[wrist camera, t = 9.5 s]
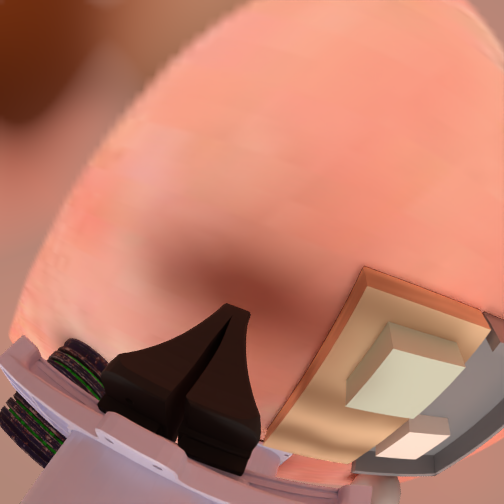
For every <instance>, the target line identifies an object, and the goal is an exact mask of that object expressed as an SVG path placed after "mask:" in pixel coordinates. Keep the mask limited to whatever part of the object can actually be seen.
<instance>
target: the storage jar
mask: <svg viewBox="0 0 504 504" xmlns="http://www.w3.org/2000/svg"><path fill="white" fill-rule="evenodd" d="M47 362H48V363H49V364H50V365H52V366H53V367H54V368H55V369H57V370H58V371H59V372H60V373H62V374H63V375H64V376H65V377H67V378H68V379H69V380H71V381H72V382H73V383H75V384H76V385H77V386H79V387H80V388H82V389H83V390H84V391H86V392H87V393H89V394H90V395H92V396H93V397H95V398H96V399H98V400H99V401H100V399H101V398H102V397H103V396H104V394H105V390H104V387H103V384H102V381H101V373H102V371H103V370H104V369H105V368H106V366H107V365H108V364H109V363H108V362H107V361H106V360H105V359H104V358H103V357H101V356H100V355H99V354H98V353H97V352H96V351H95V350H93V349H92V348H91V347H89V346H88V345H86V344H85V343H83V342H81V341H79V340H77V339H73V338H72V339H68V340H67V341H66V342H65V344H64V346H63V347H60V348H59V349H58V350H57V351H55V352H54V353H53V354H52V355H51V356H50V357H49V359H48V360H47ZM14 398H15V399H16V401H15V400H14V399H13V398H10V399H9V400H8V401H7V402H6V404H7V405H8V406H9V408H10V409H9V410H8V409H7V408H6V407H5V406H4V407H3V408H2V409H1V412H0V426H1V428H2V429H3V430H4V431H5V432H6V433H7V434H8V435H9V436H10V438H11V439H12V440H13V441H14V442H15V443H16V444H17V445H18V446H19V447H20V448H21V449H23V451H24V452H26V453H27V454H28V455H29V456H30V457H31V458H32V459H33V460H35V461H36V462H37V463H38V464H39V465H40V466H42V467H43V468H44V469H45V467H46V466H47V464H48V463H49V462H50V460H51V459H52V458H53V456H54V455H55V454H56V452H57V451H58V450H59V448H60V447H61V446H62V444H63V443H64V442H65V440H66V439H67V438H66V437H65V436H64V435H62V434H61V433H60V432H59V431H58V430H57V429H56V428H54V427H53V426H52V425H51V424H50V423H49V422H48V421H47V420H46V419H45V418H44V417H42V416H41V415H40V414H39V413H38V412H37V411H36V410H35V409H34V408H33V407H32V406H31V405H30V404H29V403H28V402H27V401H26V400H25V399H24V398H23V397H22V396H21V395H20V394H19V393H18V391H16V393H15V394H14Z"/></svg>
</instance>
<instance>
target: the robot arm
mask: <svg viewBox="0 0 504 504" xmlns="http://www.w3.org/2000/svg"><path fill="white" fill-rule="evenodd" d="M250 315H251V314H250V312H249V311H246V310H243V309H241V308H238V307H235V306H233V305H230V304H227V303H226V304H224V305H223V306H222V307H221V308H219V309H218V310H217V311H216V312H215V313H213V314H212V315H211V316H210V317H208V318H207V319H205V320H204V321H203V322H201V323H200V324H198V325H197V326H195V327H193V328H192V329H190V330H189V331H187V332H185V333H183V334H181V335H179V336H177V337H175V338H173V339H171V340H169V341H166V342H164V343H161V344H159V345H156V346H152V347H149V348H146V349H142V350H138V351H134V352H128V353H122V354H119V355H118V356H116V357H115V358H114V359H113V360H112V361H111V362H110V363H109V364H108V365H107V366H106V368H105V369H104V370H103V371H102V373H101V381H102V384H103V387H104V390H105V394H104V396H103V397H102V398H101V399H100V401H99V400H98V399H96V398H95V397H93V396H92V395H90V394H89V393H87V392H86V391H84V390H83V389H82V388H80V387H79V386H77V385H76V384H75V383H73V382H72V381H71V380H69V379H68V378H67V377H65V376H64V375H63V374H62V373H60V372H59V371H58V370H57V369H55V368H54V367H53V366H52V365H50V364H49V363H48V362H47V361H46V360H44V359H43V358H42V357H41V354H40V352H39V350H38V348H37V347H36V346H35V345H34V344H33V343H32V342H31V341H30V340H29V339H28V338H27V337H26V336H25V335H23V336H22V337H21V338H19V339H18V340H17V341H16V342H15V343H14V344H13V345H12V346H11V347H10V348H8V349H7V350H6V351H5V352H4V353H3V354H2V355H1V356H0V367H1V369H2V371H3V372H4V374H5V375H6V377H7V378H8V380H9V381H10V383H11V384H12V386H13V387H14V388H15V389H16V390H17V391H18V393H19V394H20V395H21V396H22V397H23V398H24V399H25V400H26V401H27V402H28V403H29V404H30V405H31V406H32V407H33V408H34V409H35V410H36V411H37V412H38V413H39V414H40V415H41V416H42V417H44V418H45V419H46V420H47V421H48V422H49V423H50V424H51V425H52V426H53V427H54V428H56V429H57V430H58V431H59V432H60V433H61V434H62V435H64V436H65V437H66V438H67V439H66V440H65V442H64V443H63V444H62V446H61V447H60V448H59V450H58V451H57V452H56V454H55V455H54V456H53V458H52V459H51V460H50V462H49V463H48V464H47V466H46V467H45V469H44V470H43V471H42V473H41V474H40V475H39V477H38V478H37V480H36V481H35V483H34V484H33V485H32V487H31V488H30V489H29V491H28V492H27V494H26V495H25V496H24V498H23V500H22V501H21V502H20V504H371V497H372V486H365V485H345V486H342V487H341V488H339V489H338V488H330V487H322V486H316V485H310V484H305V483H299V482H294V481H289V480H285V479H281V478H276V475H277V471H278V468H279V466H280V465H281V464H282V463H283V462H285V461H286V460H287V459H288V458H289V457H290V456H292V455H293V454H292V453H288V452H284V451H280V450H277V449H273V448H269V447H266V446H263V442H261V441H259V440H260V434H261V422H260V414H259V411H258V409H257V406H256V403H255V400H254V397H253V393H252V389H251V385H250V381H249V376H248V369H247V360H246V332H247V325H248V321H249V318H250ZM177 437H178V444H177V443H175V441H176V439H177Z"/></svg>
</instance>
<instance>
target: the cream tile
mask: <svg viewBox="0 0 504 504" xmlns="http://www.w3.org/2000/svg"><path fill="white" fill-rule="evenodd" d="M449 436H450V430H449V424H448V418H443V417H435V416H427V415H420V414H419V415H417V416H416V417H415V418H414V419H409V420H408V421H407V422H405V423H404V424H403V425H402V426H401V427H399V428H398V429H397V430H396V431H394V432H393V433H392V434H391V435H389V436H388V437H387V438H385V439H384V440H383V441H381V442H380V443H379V444H377V445H376V453H375V456H378V457H388V458H400V459H417V458H419V457H420V456H422V455H423V454H425V453H426V452H428V451H429V450H431V449H432V448H434V447H435V446H437V445H438V444H439V443H441V442H442V441H444V440H445V439H446V438H448V437H449Z"/></svg>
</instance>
